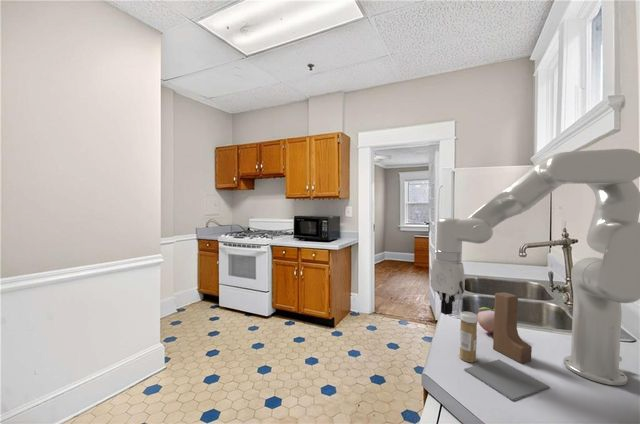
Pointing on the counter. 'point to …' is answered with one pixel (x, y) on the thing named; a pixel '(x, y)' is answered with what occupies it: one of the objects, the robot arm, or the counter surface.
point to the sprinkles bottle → (468, 336)
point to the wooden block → (508, 329)
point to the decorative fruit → (486, 319)
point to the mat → (506, 379)
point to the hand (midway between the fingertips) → (446, 313)
